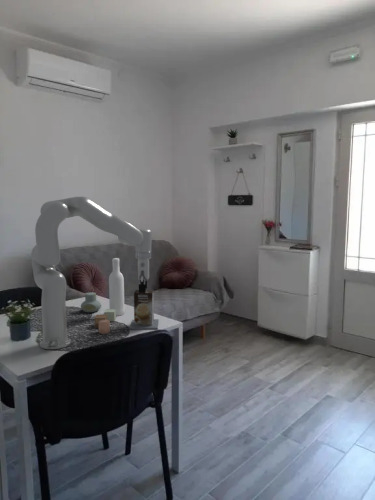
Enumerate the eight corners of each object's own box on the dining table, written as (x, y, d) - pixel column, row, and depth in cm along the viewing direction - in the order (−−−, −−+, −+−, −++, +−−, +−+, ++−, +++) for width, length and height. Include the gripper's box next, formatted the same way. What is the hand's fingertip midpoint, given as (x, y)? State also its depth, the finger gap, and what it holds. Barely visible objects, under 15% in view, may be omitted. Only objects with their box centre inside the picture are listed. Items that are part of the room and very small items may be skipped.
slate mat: (157, 329, 183) (157, 327, 183) (129, 329, 183) (129, 328, 183) (158, 320, 196) (158, 319, 196) (132, 321, 196) (132, 319, 196)
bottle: (107, 315, 206) (105, 259, 202) (113, 311, 213) (111, 257, 210) (121, 316, 204) (119, 259, 200) (126, 312, 211) (125, 257, 208)
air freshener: (79, 313, 210) (78, 295, 209) (83, 309, 218) (82, 291, 217) (99, 313, 210) (98, 295, 208) (102, 309, 218) (102, 291, 217)
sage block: (114, 321, 195) (114, 312, 195) (104, 321, 195) (104, 312, 194) (115, 318, 200) (115, 309, 200) (106, 318, 200) (105, 309, 199)
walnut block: (105, 327, 186) (105, 317, 186) (95, 327, 186) (94, 317, 185) (107, 324, 191) (107, 314, 190) (97, 324, 191) (96, 314, 190)
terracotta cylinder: (109, 333, 177) (108, 323, 177) (97, 333, 177) (97, 323, 177) (110, 330, 182) (110, 319, 182) (99, 330, 182) (99, 319, 181)
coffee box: (133, 325, 186) (132, 292, 184) (135, 321, 193) (135, 289, 191) (152, 325, 186) (152, 292, 184) (154, 321, 192) (154, 289, 190)
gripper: (150, 257, 177) (149, 294, 178) (152, 253, 194) (151, 287, 196) (133, 257, 176) (133, 294, 178) (137, 253, 194) (136, 286, 195)
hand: (142, 290), depth 187 cm, fingers open, 9 cm apart
